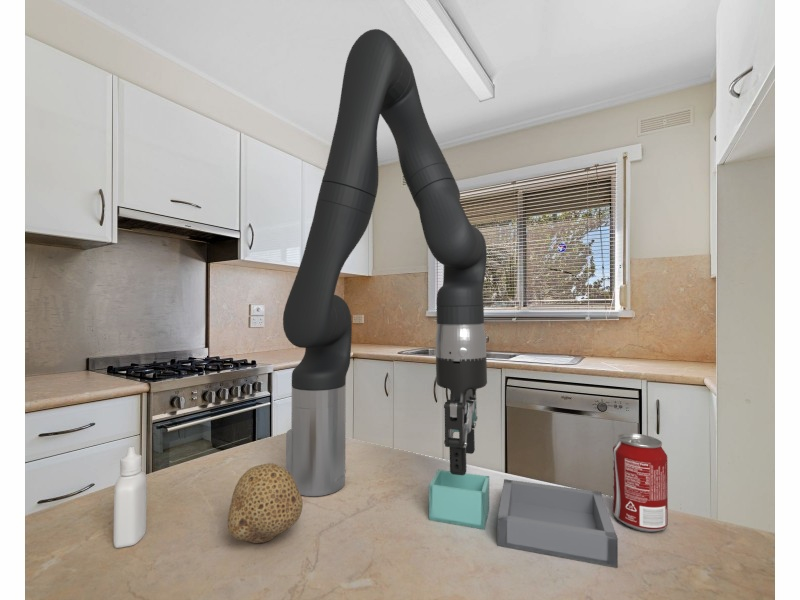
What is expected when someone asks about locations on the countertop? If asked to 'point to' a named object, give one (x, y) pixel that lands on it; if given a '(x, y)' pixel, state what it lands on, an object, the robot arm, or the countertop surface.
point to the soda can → (640, 482)
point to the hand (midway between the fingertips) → (463, 462)
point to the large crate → (557, 522)
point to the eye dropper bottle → (130, 501)
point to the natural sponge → (264, 504)
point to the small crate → (459, 499)
